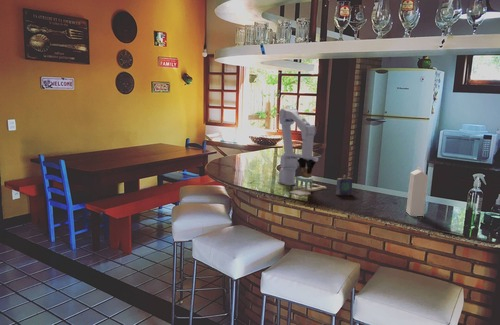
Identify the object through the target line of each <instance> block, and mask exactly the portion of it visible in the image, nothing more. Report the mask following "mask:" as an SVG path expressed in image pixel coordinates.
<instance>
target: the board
mask: <svg viewBox="0 0 500 325" xmlns="http://www.w3.org/2000/svg"><path fill="white" fill-rule="evenodd" d="M292 187H293V188H294V190H303V191H306V192H309V193H311V192H314V191H321V190H326V189H327V186H325V185H320V184H318V183H317V184H316V183H312V188H310V183H308V184H307V189H305V184H303V186H300V185H298V187H296V186H292ZM293 188H292V189H293Z"/></svg>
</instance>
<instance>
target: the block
mask: <svg viewBox="0 0 500 325" xmlns="http://www.w3.org/2000/svg"><path fill="white" fill-rule="evenodd" d="M300 172H301V173H300V176H301V177H305V178H312V176H313V170H312V171H311V174H307V166H305V167H302V168H300Z"/></svg>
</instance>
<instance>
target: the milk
mask: <svg viewBox="0 0 500 325" xmlns="http://www.w3.org/2000/svg"><path fill="white" fill-rule="evenodd" d="M409 174H410V175H409V182H408V192H407V201H406V210H405V212H407V213H408V214H409V215H410V216H409V217H417V216H423V217H424V215H425V208H426V207H425V206H426V199H427V198H426V197H427V189H428V181H429V175H428V174H427V173H425V172H423V168H422V167H421V166H417V169H415V170H413V171H410V173H409ZM407 213H406V214H407ZM408 214H407V215H408Z"/></svg>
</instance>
